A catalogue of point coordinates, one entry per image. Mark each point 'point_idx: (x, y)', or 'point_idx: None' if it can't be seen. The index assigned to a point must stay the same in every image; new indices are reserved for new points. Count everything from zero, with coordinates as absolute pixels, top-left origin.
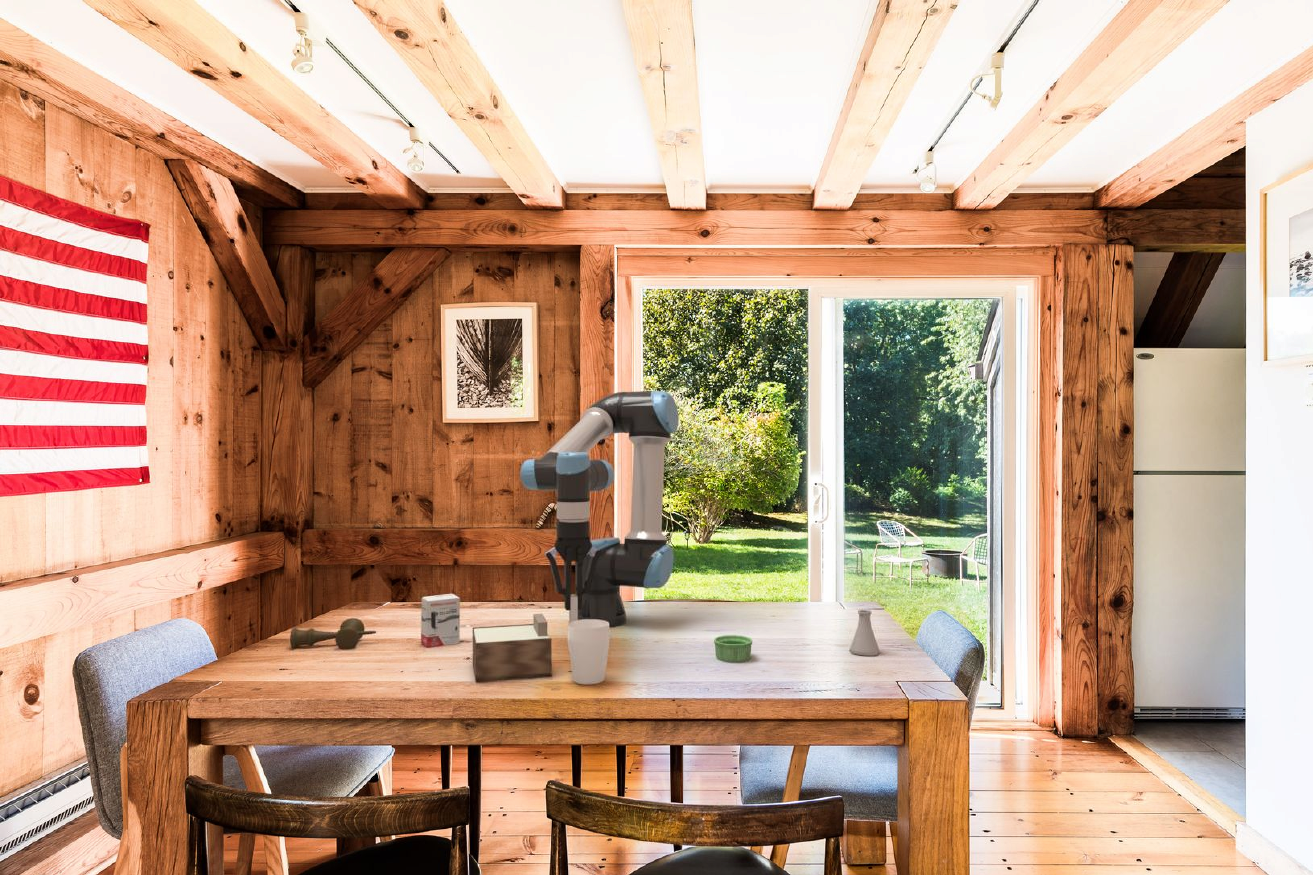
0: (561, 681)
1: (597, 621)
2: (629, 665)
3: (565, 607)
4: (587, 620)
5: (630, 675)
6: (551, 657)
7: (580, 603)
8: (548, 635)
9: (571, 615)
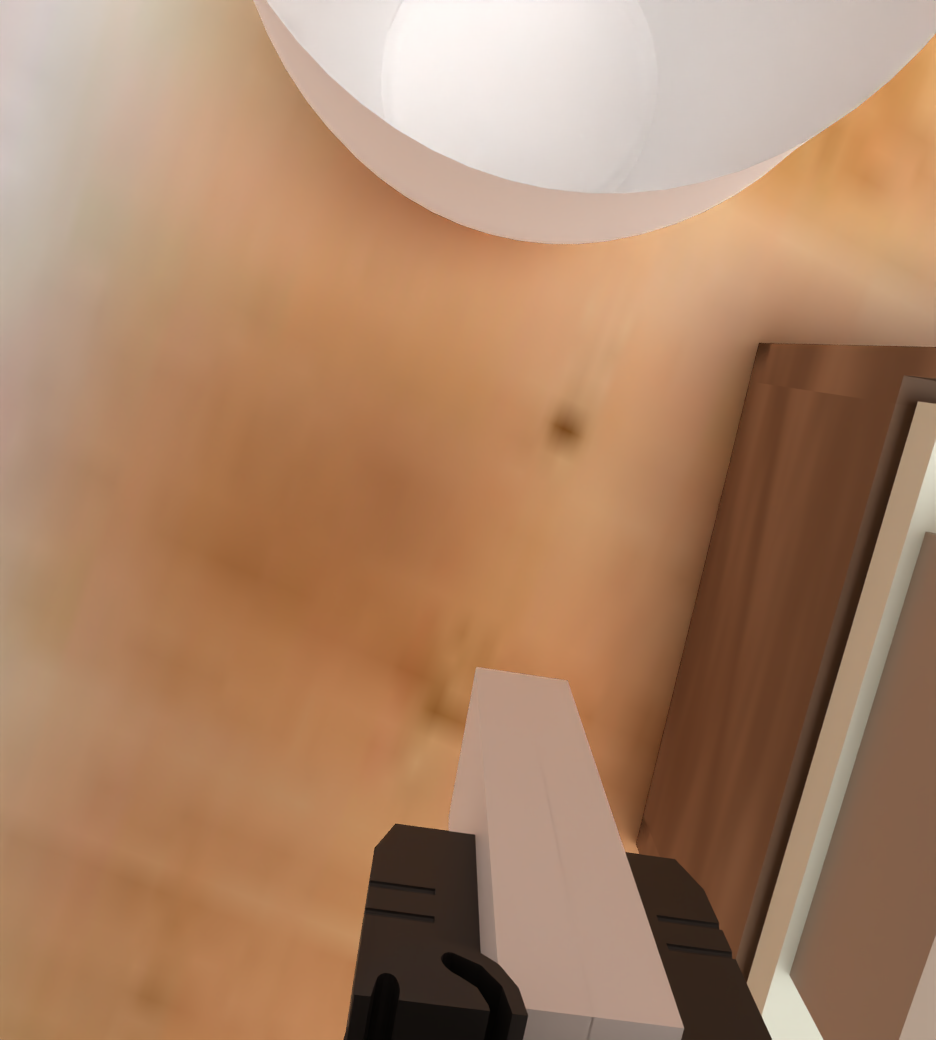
0: None
1: (313, 73)
2: (42, 377)
3: (708, 902)
4: (491, 180)
5: (124, 69)
6: (833, 346)
7: (403, 908)
8: (907, 540)
9: (585, 754)
